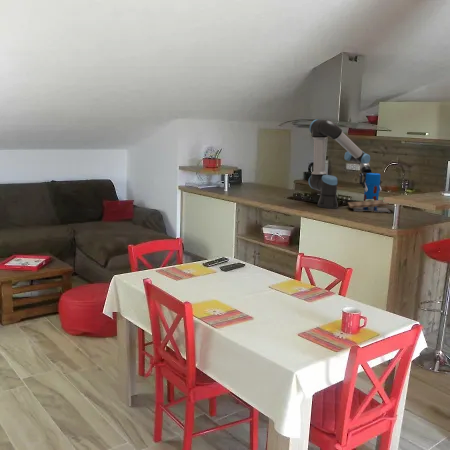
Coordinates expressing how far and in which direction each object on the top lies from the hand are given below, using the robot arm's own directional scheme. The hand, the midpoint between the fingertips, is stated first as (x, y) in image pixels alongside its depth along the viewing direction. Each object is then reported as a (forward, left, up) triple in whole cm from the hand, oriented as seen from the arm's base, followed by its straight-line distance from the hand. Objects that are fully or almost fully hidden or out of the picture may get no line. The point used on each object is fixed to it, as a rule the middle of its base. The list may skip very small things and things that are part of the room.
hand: (373, 191), depth 389 cm
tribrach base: (-4, -16, -12) cm, 21 cm away
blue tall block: (-1, +3, -12) cm, 13 cm away
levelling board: (-4, -16, -7) cm, 18 cm away
